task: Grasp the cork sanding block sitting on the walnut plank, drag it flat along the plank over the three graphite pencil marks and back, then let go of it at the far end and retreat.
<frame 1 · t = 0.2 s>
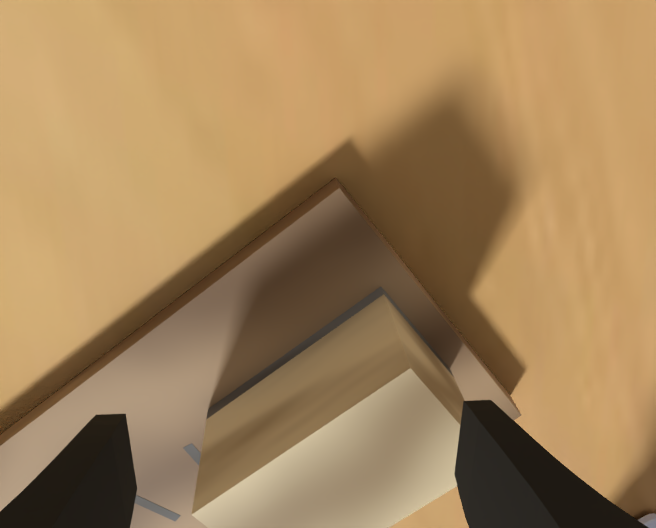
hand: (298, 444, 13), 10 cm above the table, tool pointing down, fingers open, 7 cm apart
sanding block: (329, 388, 23), point 1 cm above the table, touching plank
plank: (211, 449, 25), on the table
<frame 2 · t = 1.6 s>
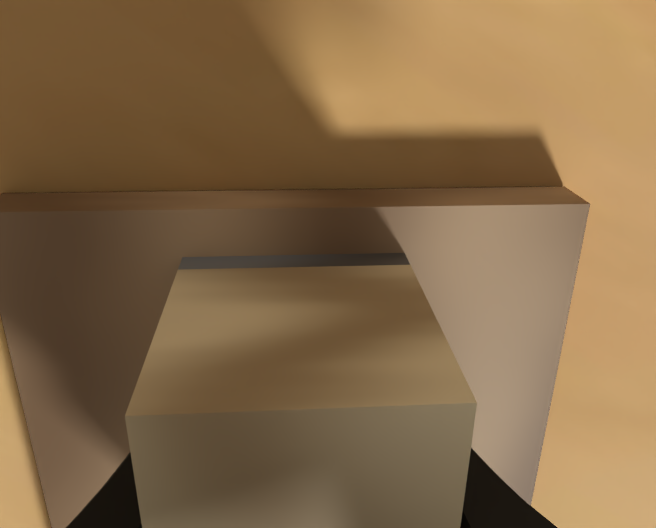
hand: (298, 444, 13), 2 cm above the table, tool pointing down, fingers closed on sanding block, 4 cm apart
sanding block: (296, 414, 14), point 1 cm above the table, touching gripper, plank
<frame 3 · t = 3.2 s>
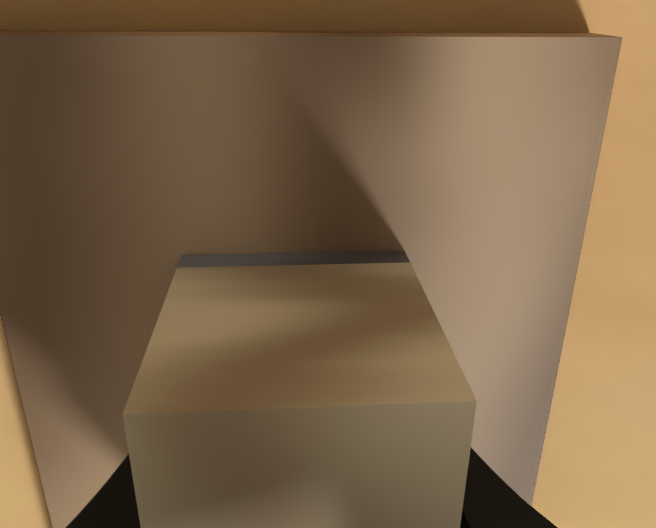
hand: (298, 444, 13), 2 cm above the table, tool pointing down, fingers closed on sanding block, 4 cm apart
sanding block: (296, 413, 14), point 1 cm above the table, touching gripper
plank: (297, 472, 16), on the table
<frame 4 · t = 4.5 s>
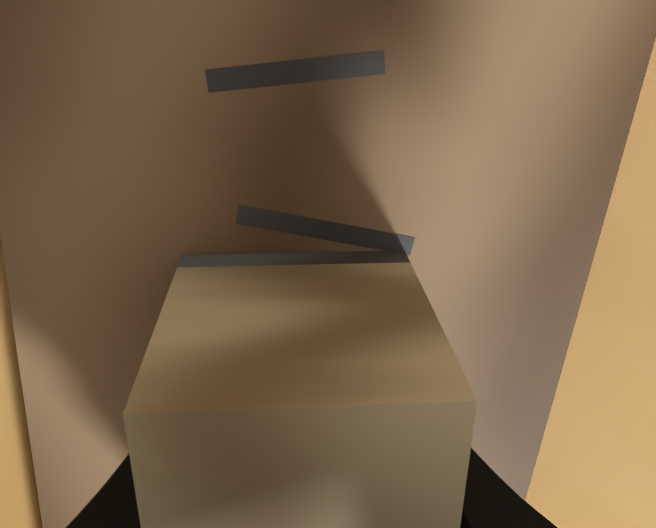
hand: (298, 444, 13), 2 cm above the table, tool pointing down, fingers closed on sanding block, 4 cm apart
sanding block: (296, 413, 14), point 1 cm above the table, touching gripper
plank: (309, 209, 13), on the table
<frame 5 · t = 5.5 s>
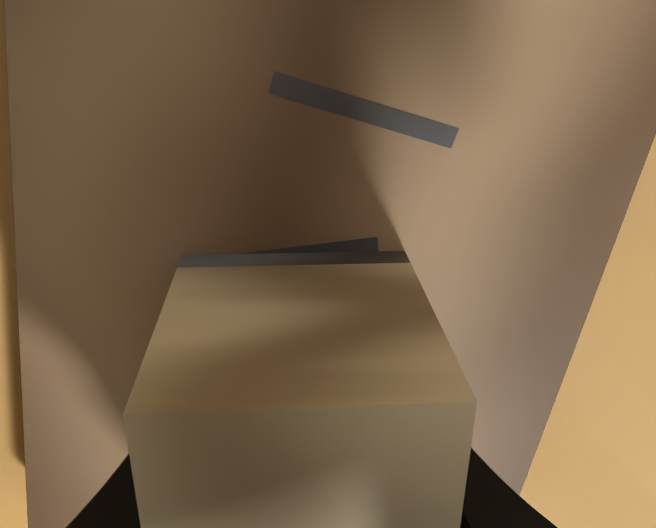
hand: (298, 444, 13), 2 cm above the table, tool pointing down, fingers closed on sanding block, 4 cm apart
sanding block: (296, 413, 14), point 1 cm above the table, touching gripper, plank
plank: (343, 98, 12), on the table
when the fingers open (2 cm above the table, at t = 10.9 s): sanding block stays where it is, resting on plank.
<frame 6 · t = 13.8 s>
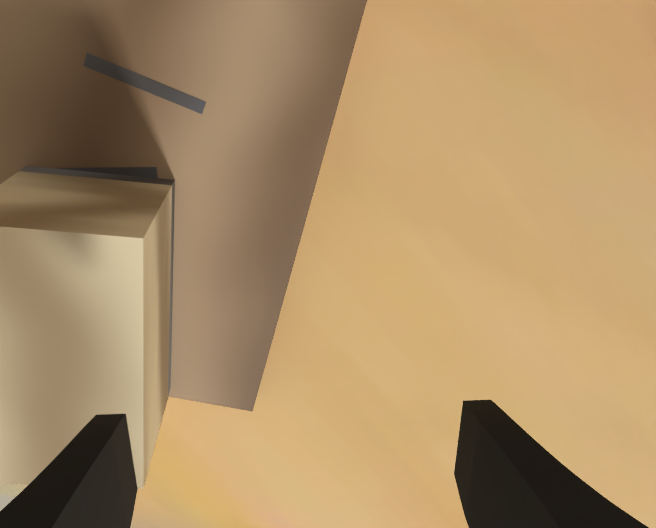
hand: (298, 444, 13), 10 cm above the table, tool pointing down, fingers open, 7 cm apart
sanding block: (105, 286, 21), point 1 cm above the table, touching plank
plank: (143, 76, 19), on the table
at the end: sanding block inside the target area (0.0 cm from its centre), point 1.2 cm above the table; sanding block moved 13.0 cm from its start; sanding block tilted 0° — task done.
